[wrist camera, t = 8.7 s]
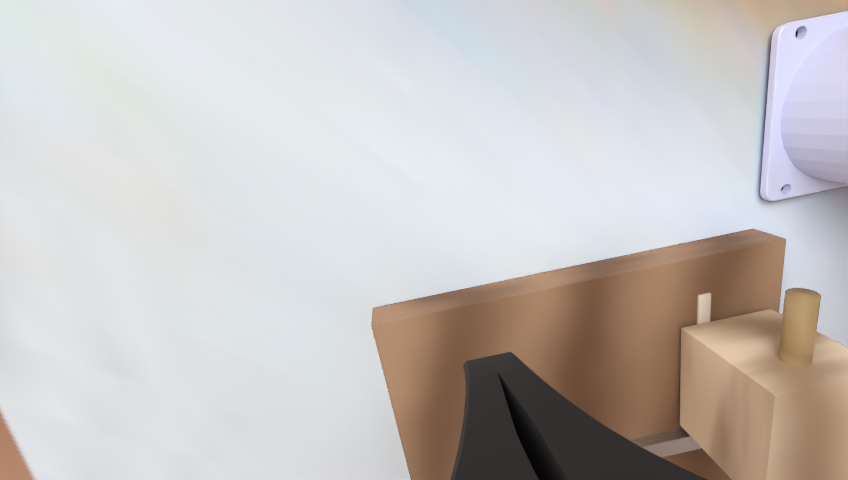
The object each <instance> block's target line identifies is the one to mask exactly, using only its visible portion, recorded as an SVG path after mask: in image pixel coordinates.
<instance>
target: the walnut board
mask: <svg viewBox="0 0 848 480" xmlns="http://www.w3.org/2000/svg"><path fill="white" fill-rule="evenodd" d="M785 245H786V239H785V238H781V237H778V236H775V235H771V234H768V233H765V232H762V231H758V230H755V229H750V230H745V231H740V232H736V233H731V234H726V235H721V236H716V237H712V238H707V239H702V240H697V241H692V242H687V243H683V244H678V245H673V246H668V247H663V248H659V249H654V250H649V251H644V252H639V253H635V254H630V255H625V256H620V257H615V258H611V259H606V260H601V261H596V262H591V263H587V264H582V265H577V266H572V267H567V268H563V269H558V270H553V271H548V272H543V273H539V274H534V275H529V276H524V277H519V278H515V279H510V280H505V281H500V282H495V283H491V284H486V285H481V286H476V287H471V288H466V289H462V290H457V291H452V292H447V293H442V294H438V295H433V296H428V297H423V298H418V299H414V300H409V301H404V302H399V303H394V304H390V305H385V306H380V307H375V308H373V314H372V330H373V334H374V337H375V341H376V345H377V349H378V353H379V357H380V361H381V365H382V369H383V372H384V376H385V380H386V384H387V388H388V392H389V396H390V400H391V404H392V408H393V411H394V415H395V419H396V423H397V427H398V431H399V435H400V439H401V443H402V447H403V450H404V454H405V458H406V462H407V466H408V470H409V474H410V478H411V480H449V479H451V475H452V471H453V468H454V464H455V460H456V455H457V451H458V446H459V441H460V435H461V430H462V424H463V417H464V407H465V395H466V380H465V374H464V369H463V365H464V363H465V362H466V361H469V360H473V359H478V358H483V357H488V356H492V355H497V354H502V353H506V352H512V353H513V354H515V355H516V356H517V357H518V358H519V359H520V360H521V361H522V362H523V363H524V364H525V365H527V366H528V367H529V368H530V369H531V370H532V371H533V372H534V373H536V374H537V375H538V376H539V377H540V378H541V379H543V380H544V381H545V382H546V383H547V384H549V385H550V386H551V387H552V388H554V389H555V390H556V391H558V392H559V393H560V394H561V395H563V396H564V397H565V398H566V399H568V400H569V401H570V402H572V403H573V404H574V405H576V406H577V407H579V408H580V409H581V410H583V411H584V412H586V413H587V414H589V415H590V416H591V417H593V418H594V419H596V420H597V421H599V422H600V423H602V424H603V425H605V426H606V427H608V428H610V429H611V430H613V431H614V432H616V433H618V434H619V435H621V436H623V437H625V438H626V439H628V440H631V439H635V438H640V437H644V436H649V435H653V434H658V433H662V432H667V431H672V430H676V429H681V428H682V427H681V425H680V375H681V328H684V327H688V326H693V325H698V324H702V323H707V322H712V321H716V320H721V319H726V318H730V317H735V316H740V315H744V314H749V313H754V312H758V311H763V310H768V309H772V310H774V311H776V312H778V313H779V305H780V295H781V285H782V275H783V265H784V255H785ZM661 458H663V459H665V460H667V461H669V462H671V463H673V464H675V465H677V466H679V467H681V468H683V469H685V470H688V471H690V472H692V473H694V474H696V475H699V476H701V477H703V478H705V479H707V480H732V479H731V478H730V477H729V476H728V475H727V474H726V473H725V472H724V471H723V470H722V469H721V468H720V467H719V466H718V465H717V463H716V462H715V461H714V460H713V459H712V458H711V457H710V456H709V455H708V454H707V453H706V452H705V451H704V450H703V449H702V448H701V449H697V450H692V451H688V452H683V453H679V454H674V455H670V456H665V457H661Z"/></svg>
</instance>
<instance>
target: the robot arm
mask: <svg viewBox="0 0 848 480" xmlns="http://www.w3.org/2000/svg"><path fill="white" fill-rule="evenodd" d="M796 30H798V35H797V37H796V36H795V33H796ZM783 186H784V187H783ZM845 186H848V11H846V12H841V13H836V14H831V15H826V16H820V17H815V18H810V19H805V20H800V21H795V22H790V23H785V24H782V25H780V26H778V27H777V28H776V29H775V31H774V33H773V35H772V41H771V55H770V68H769V81H768V94H767V107H766V121H765V134H764V147H763V160H762V174H761V187H760V195H761V197H762V199H764V200H768V201H777V200H782V199H787V198H792V197H797V196H802V195H806V194H811V193H816V192H821V191H826V190H831V189H836V188H840V187H845ZM782 187H783V190H782V191H781V188H782ZM463 369H464V374H465V380H466V395H465V407H464V417H463V424H462V430H461V435H460V441H459V446H458V451H457V455H456V460H455V464H454V468H453V471H452V475H451V479H450V480H707V479H705V478H703V477H701V476H699V475H696V474H694V473H692V472H690V471H688V470H685V469H683V468H681V467H679V466H677V465H675V464H673V463H671V462H669V461H667V460H665V459H663V458H661V457H659V456H657V455H655V454H653V453H651V452H649V451H648V450H646V449H644V448H642V447H640V446H638V445H637V444H635V443H633V442H631V441H630V440H628V439H626V438H625V437H623V436H621V435H619V434H618V433H616V432H614V431H613V430H611V429H610V428H608V427H606V426H605V425H603V424H602V423H600V422H599V421H597V420H596V419H594V418H593V417H591V416H590V415H589V414H587V413H586V412H584V411H583V410H581V409H580V408H579V407H577V406H576V405H574V404H573V403H572V402H570V401H569V400H568V399H566V398H565V397H564V396H563V395H561V394H560V393H559V392H558V391H556V390H555V389H554V388H552V387H551V386H550V385H549V384H547V383H546V382H545V381H544V380H543V379H541V378H540V377H539V376H538V375H537V374H536V373H534V372H533V371H532V370H531V369H530V368H529V367H528V366H527V365H525V364H524V363H523V362H522V361H521V360H520V359H519V358H518V357H517V356H516V355H515V354H513V353H512V352H506V353H502V354H497V355H492V356H488V357H483V358H478V359H473V360H469V361H466V362H465V363H464V365H463Z"/></svg>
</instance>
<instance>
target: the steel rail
mask: <svg viewBox="0 0 848 480" xmlns="http://www.w3.org/2000/svg"><path fill="white" fill-rule="evenodd" d="M630 441H631V442H633V443H635V444H637V445H638V446H640V447H642V448H644V449H646V450H648V451H649V452H651V453H653V454H655V455H657V456H659V457H665V456H670V455H674V454H679V453H683V452H688V451H692V450H697V449H701V447H700V446H699V444H698V443H697V442H696V441H695V440H694V439H693V438H692V437H691V436H690V435H689V434H688V433H687V432H686V431H685V430H684V429H683V428H681V429H676V430H672V431H667V432H662V433H658V434H653V435H649V436H644V437H640V438H635V439H631V440H630ZM449 480H450V479H449Z"/></svg>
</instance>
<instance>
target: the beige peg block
mask: <svg viewBox="0 0 848 480" xmlns="http://www.w3.org/2000/svg"><path fill="white" fill-rule="evenodd" d="M820 299H821V295H820V294H819V293H817V292H815V291H812V290H809V289H803V288H792V289H788V290H786V291H785V300H784V310H783V315H782V314H780V313H778V312H776V311H774V310H772V309H768V310H763V311H758V312H754V313H749V314H744V315H740V316H735V317H730V318H726V319H721V320H716V321H712V322H707V323H702V324H698V325H693V326H688V327H684V328H681V375H680V425H681V427H682V428H683V429H684V430H685V431H686V432H687V433H688V434H689V435H690V436H691V437H692V438H693V439H694V440H695V441H696V442H697V443H698V444H699V446H700V447H701V448H702V449H703V450H704V451H705V452H706V453H707V454H708V455H709V456H710V457H711V458H712V459H713V460H714V461H715V462H716V463H717V465H718V466H719V467H720V468H721V469H722V470H723V471H724V472H725V473H726V474H727V475H728V476H729V477H730V478H731V479H732V480H848V347H846V346H844V345H842V344H840V343H838V342H836V341H834V340H832V339H830V338H828V337H826V336H824V335H822V334H820V333H818V332H816V329H817V321H818V314H819V307H820Z"/></svg>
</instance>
